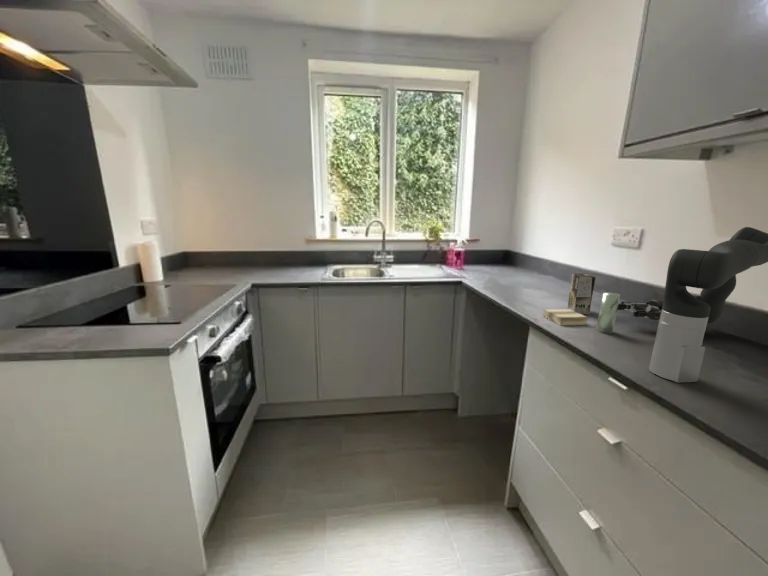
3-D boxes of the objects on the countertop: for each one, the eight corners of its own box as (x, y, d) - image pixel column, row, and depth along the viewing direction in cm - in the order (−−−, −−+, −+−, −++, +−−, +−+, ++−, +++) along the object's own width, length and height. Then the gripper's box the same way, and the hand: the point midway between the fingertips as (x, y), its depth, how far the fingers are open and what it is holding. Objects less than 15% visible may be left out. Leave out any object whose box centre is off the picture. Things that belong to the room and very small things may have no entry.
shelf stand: (586, 324, 133) (587, 317, 132) (559, 325, 131) (561, 317, 131) (567, 315, 144) (568, 308, 143) (543, 316, 142) (544, 309, 141)
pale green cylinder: (616, 333, 124) (623, 295, 121) (603, 334, 123) (610, 295, 120) (605, 328, 129) (612, 292, 126) (592, 329, 128) (599, 292, 125)
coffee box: (589, 314, 146) (596, 277, 143) (573, 313, 147) (579, 276, 144) (582, 309, 155) (588, 273, 151) (566, 307, 156) (572, 272, 153)
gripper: (649, 295, 133) (611, 295, 131) (685, 305, 120) (643, 305, 117) (645, 313, 135) (607, 314, 133) (680, 325, 121) (639, 326, 119)
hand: (624, 310), depth 125 cm, fingers open, 8 cm apart
